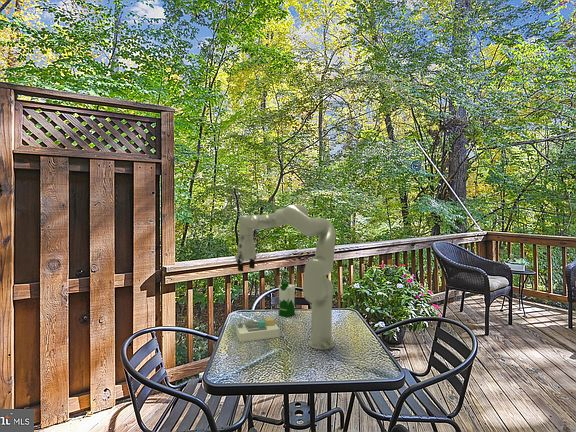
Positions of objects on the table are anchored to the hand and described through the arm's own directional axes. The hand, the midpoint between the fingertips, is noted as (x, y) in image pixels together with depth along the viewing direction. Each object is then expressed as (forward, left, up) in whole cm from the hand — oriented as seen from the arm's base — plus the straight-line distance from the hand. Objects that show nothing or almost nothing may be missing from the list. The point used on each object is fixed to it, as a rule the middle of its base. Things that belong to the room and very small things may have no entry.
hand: (246, 269), depth 177 cm
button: (-11, -10, -30) cm, 33 cm away
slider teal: (-16, -4, -27) cm, 32 cm away
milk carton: (+12, -27, -31) cm, 43 cm away
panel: (-13, -3, -31) cm, 34 cm away
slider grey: (-11, +1, -27) cm, 29 cm away
